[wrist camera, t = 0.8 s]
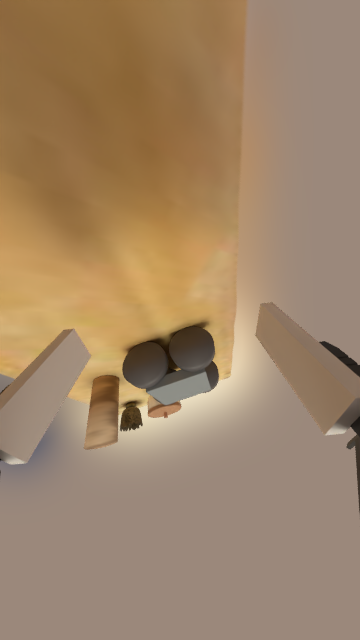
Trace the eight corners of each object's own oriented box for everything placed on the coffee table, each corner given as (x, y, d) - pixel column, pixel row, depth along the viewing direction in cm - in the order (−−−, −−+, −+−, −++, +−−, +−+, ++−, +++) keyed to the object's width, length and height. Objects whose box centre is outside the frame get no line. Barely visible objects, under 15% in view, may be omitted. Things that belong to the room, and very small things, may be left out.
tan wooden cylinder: (87, 381, 40) (76, 449, 31) (110, 372, 40) (106, 439, 31) (102, 388, 45) (96, 449, 36) (123, 381, 45) (123, 440, 36)
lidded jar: (150, 396, 59) (154, 425, 53) (141, 387, 51) (143, 419, 45) (178, 388, 60) (184, 415, 53) (173, 377, 52) (180, 408, 45)
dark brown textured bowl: (127, 399, 56) (128, 425, 50) (144, 400, 60) (146, 424, 55) (116, 407, 58) (115, 432, 53) (133, 407, 63) (134, 430, 58)
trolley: (122, 349, 35) (122, 394, 28) (204, 321, 34) (222, 359, 28) (151, 377, 47) (155, 411, 41) (211, 356, 47) (225, 388, 41)
